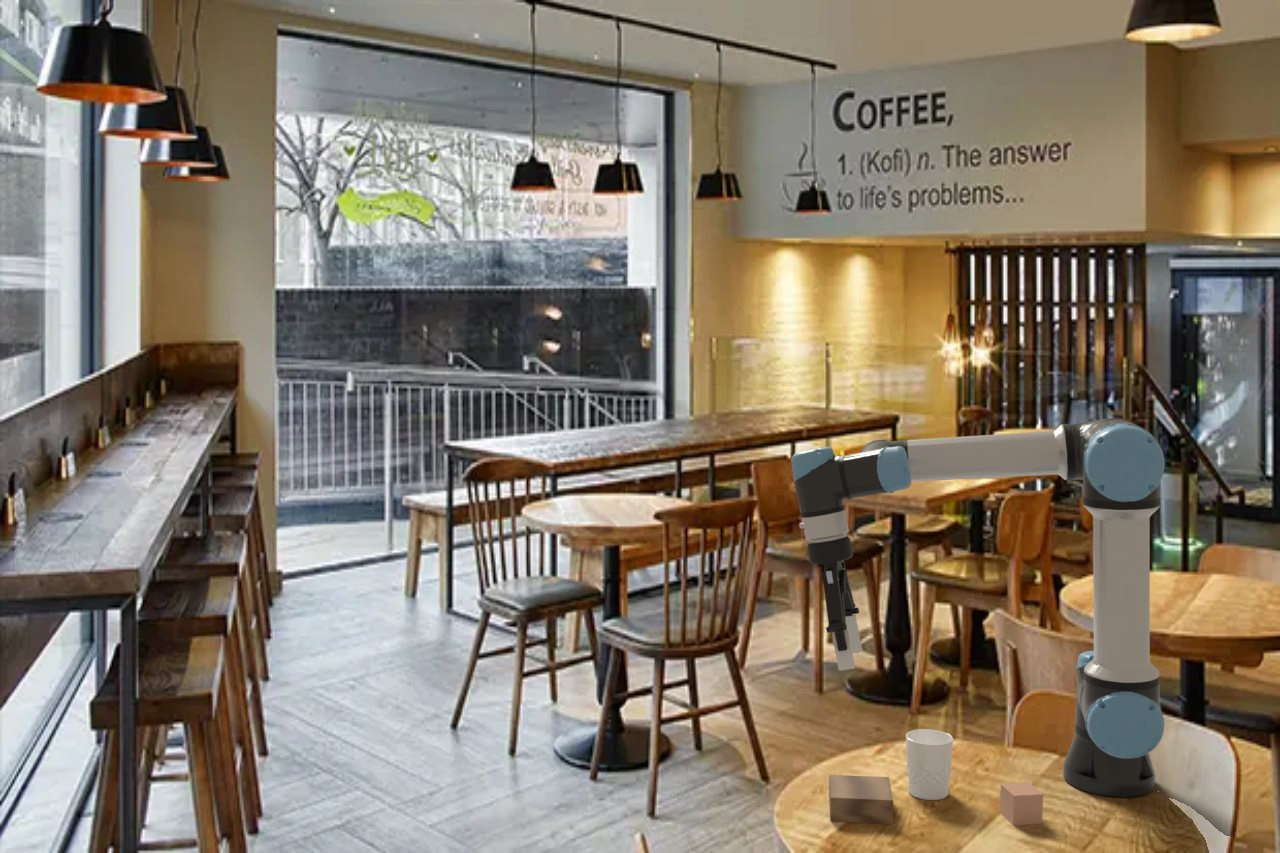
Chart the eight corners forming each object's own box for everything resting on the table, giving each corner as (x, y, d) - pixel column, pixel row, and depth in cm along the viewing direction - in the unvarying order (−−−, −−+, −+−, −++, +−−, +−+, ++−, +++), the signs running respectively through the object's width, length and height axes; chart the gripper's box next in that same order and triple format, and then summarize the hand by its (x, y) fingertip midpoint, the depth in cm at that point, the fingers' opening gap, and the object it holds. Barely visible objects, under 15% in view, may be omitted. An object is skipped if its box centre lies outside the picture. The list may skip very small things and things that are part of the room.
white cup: (952, 803, 215) (954, 746, 214) (904, 800, 216) (906, 743, 215) (950, 786, 222) (952, 730, 221) (904, 782, 224) (905, 727, 223)
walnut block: (888, 800, 216) (888, 777, 216) (892, 824, 206) (893, 800, 206) (828, 797, 217) (829, 774, 217) (830, 821, 207) (830, 797, 207)
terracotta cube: (1028, 811, 211) (1029, 782, 211) (1042, 823, 206) (1043, 794, 206) (999, 813, 211) (1000, 784, 210) (1012, 825, 206) (1013, 795, 205)
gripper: (814, 533, 231) (836, 649, 230) (796, 550, 207) (820, 679, 206) (855, 527, 229) (878, 643, 228) (841, 543, 205) (867, 673, 204)
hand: (851, 661), depth 217 cm, fingers open, 13 cm apart
